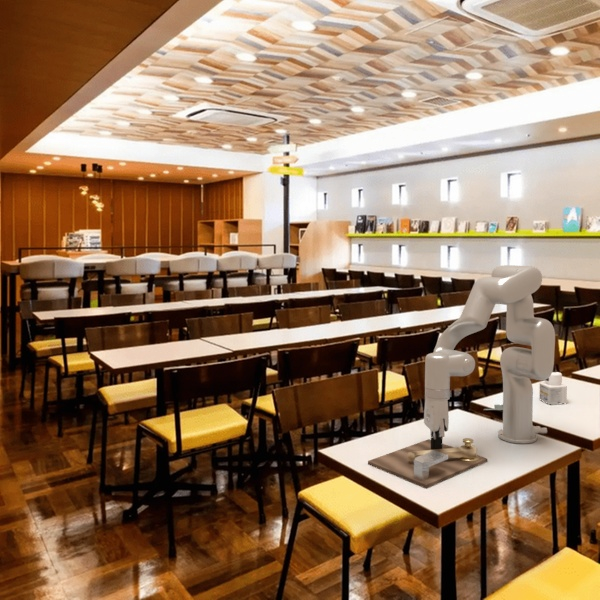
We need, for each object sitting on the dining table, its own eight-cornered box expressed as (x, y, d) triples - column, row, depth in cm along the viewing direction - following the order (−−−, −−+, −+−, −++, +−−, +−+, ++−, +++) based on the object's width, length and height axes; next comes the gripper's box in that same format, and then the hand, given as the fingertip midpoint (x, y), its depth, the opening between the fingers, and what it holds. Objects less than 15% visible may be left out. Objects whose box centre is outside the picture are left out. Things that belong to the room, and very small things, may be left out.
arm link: (471, 451, 176) (471, 444, 175) (479, 457, 171) (479, 450, 170) (405, 457, 172) (405, 450, 172) (411, 463, 167) (410, 456, 167)
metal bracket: (533, 403, 212) (494, 404, 212) (535, 419, 211) (495, 420, 211) (518, 403, 226) (482, 404, 226) (520, 418, 225) (483, 419, 225)
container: (539, 400, 236) (539, 370, 234) (556, 399, 237) (556, 369, 235) (549, 405, 228) (549, 374, 227) (566, 404, 229) (567, 373, 228)
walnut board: (428, 441, 190) (428, 439, 190) (487, 461, 172) (487, 458, 172) (368, 464, 173) (367, 460, 173) (426, 488, 154) (426, 485, 154)
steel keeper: (424, 481, 157) (424, 463, 156) (411, 475, 161) (411, 458, 160) (448, 471, 163) (448, 454, 162) (434, 466, 167) (434, 449, 166)
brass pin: (475, 453, 176) (475, 436, 175) (481, 461, 170) (481, 443, 169) (455, 454, 176) (455, 436, 176) (460, 461, 170) (460, 443, 169)
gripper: (418, 387, 180) (417, 442, 181) (433, 399, 165) (432, 459, 166) (440, 386, 180) (439, 441, 182) (458, 399, 165) (456, 458, 167)
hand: (436, 450), depth 174 cm, fingers closed
